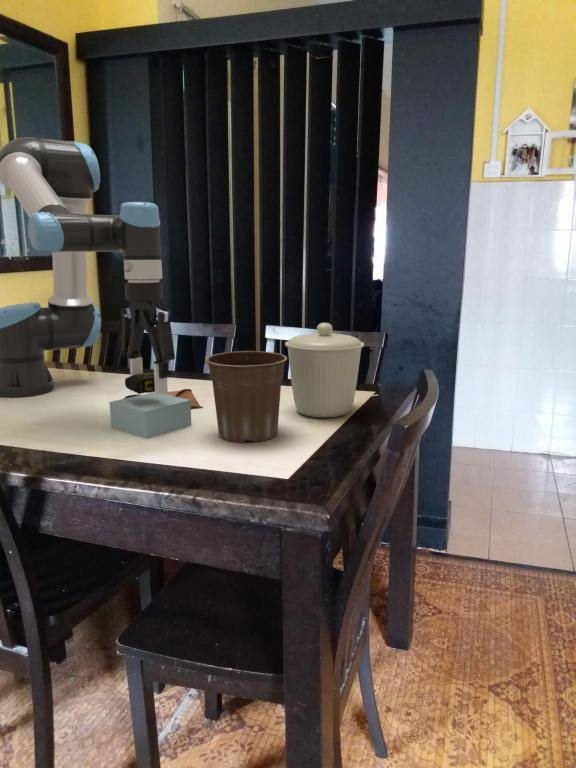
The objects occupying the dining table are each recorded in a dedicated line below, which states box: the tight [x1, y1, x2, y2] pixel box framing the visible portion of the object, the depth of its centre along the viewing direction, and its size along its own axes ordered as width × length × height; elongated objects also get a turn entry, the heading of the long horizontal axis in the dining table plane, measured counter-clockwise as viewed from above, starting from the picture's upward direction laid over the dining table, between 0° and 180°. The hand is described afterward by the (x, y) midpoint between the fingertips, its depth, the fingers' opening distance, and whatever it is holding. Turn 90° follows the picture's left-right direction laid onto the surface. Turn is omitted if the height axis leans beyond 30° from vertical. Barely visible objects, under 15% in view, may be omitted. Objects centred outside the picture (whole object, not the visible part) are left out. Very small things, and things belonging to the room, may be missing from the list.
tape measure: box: [124, 372, 155, 395], centre depth 125 cm, size 7×7×4 cm
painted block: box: [109, 392, 192, 439], centre depth 128 cm, size 12×12×6 cm
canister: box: [284, 322, 365, 419], centre depth 137 cm, size 18×18×21 cm
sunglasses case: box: [123, 388, 203, 410], centre depth 143 cm, size 18×7×7 cm
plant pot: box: [205, 350, 288, 443], centre depth 121 cm, size 16×16×16 cm
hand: (149, 390), depth 126 cm, fingers closed on tape measure, 7 cm apart
